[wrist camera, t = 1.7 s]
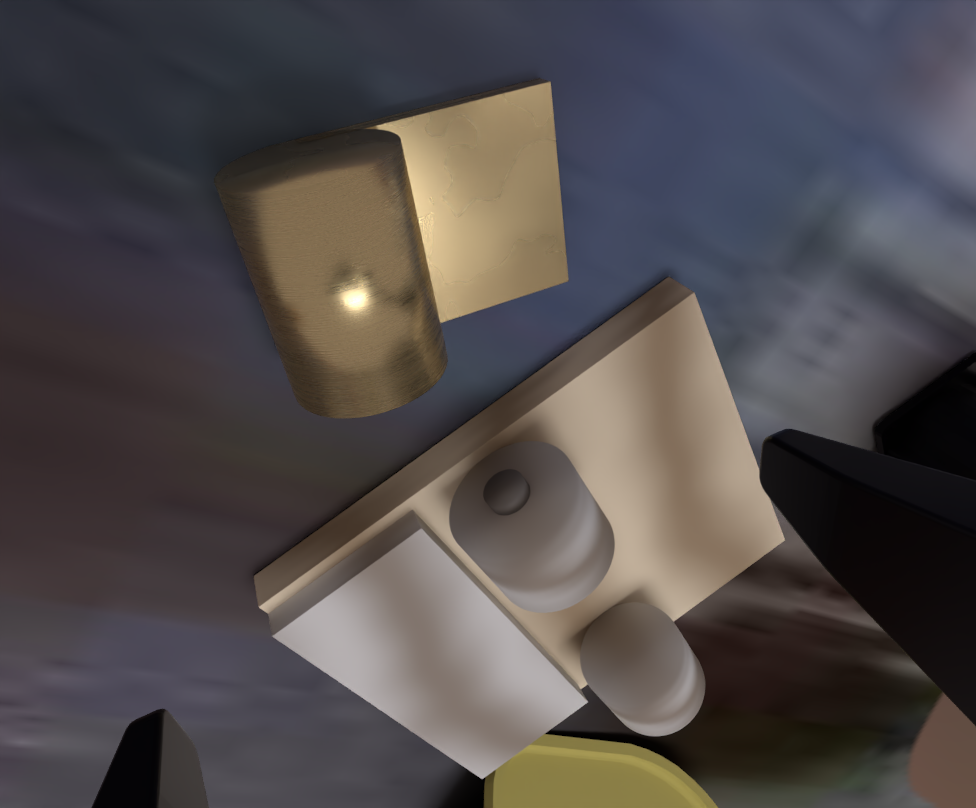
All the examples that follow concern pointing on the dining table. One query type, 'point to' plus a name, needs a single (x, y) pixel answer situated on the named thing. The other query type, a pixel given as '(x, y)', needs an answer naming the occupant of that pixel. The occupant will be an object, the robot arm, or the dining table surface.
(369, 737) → the dining table surface
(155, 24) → the dining table surface
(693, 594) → the hinge base
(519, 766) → the plastic component
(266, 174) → the brass cylinder with flap
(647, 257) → the dining table surface
